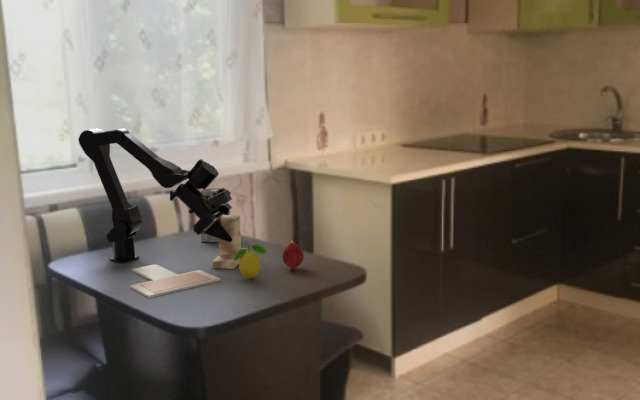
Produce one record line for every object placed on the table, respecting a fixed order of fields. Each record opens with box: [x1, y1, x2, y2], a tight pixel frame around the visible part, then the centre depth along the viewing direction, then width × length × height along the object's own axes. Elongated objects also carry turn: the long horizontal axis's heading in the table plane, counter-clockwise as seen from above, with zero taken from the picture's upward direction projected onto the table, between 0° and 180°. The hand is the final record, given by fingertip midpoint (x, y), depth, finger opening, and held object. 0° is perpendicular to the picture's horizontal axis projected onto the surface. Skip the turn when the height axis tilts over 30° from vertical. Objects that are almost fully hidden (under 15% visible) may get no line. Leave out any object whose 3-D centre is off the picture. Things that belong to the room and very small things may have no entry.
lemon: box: [234, 241, 268, 280], centre depth 174 cm, size 7×6×10 cm
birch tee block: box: [211, 214, 248, 270], centre depth 191 cm, size 6×14×13 cm, turn 170°
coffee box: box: [200, 187, 223, 243], centre depth 219 cm, size 9×6×16 cm
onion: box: [281, 240, 305, 270], centre depth 182 cm, size 6×6×8 cm
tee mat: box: [129, 263, 221, 299], centre depth 178 cm, size 25×20×1 cm
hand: (234, 238), depth 191 cm, fingers closed on birch tee block, 5 cm apart
